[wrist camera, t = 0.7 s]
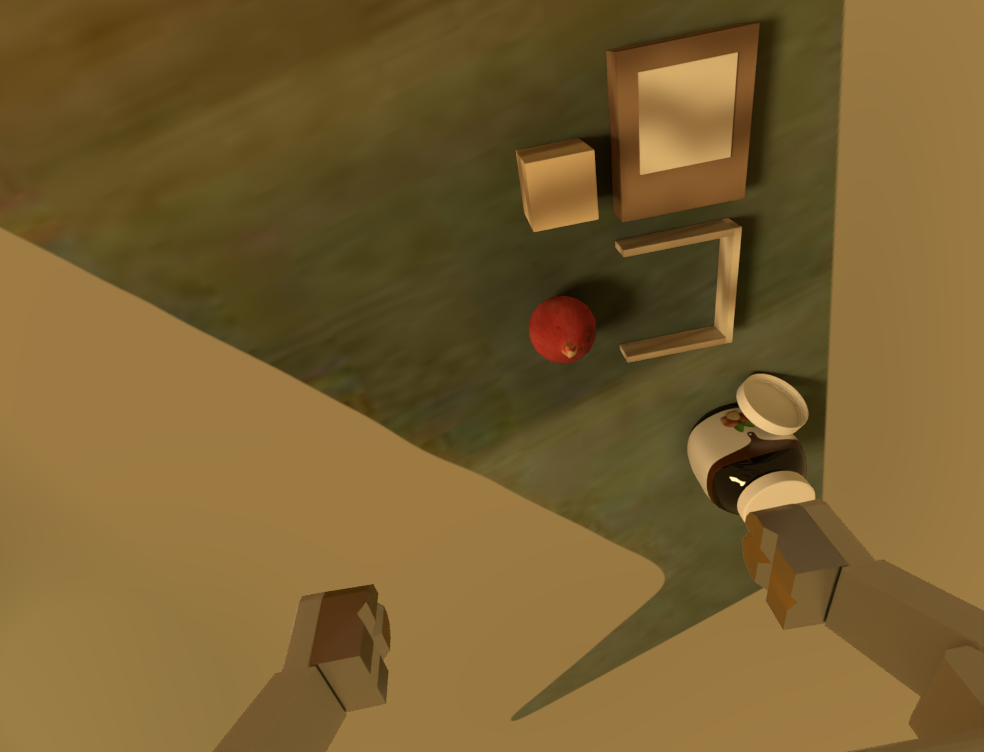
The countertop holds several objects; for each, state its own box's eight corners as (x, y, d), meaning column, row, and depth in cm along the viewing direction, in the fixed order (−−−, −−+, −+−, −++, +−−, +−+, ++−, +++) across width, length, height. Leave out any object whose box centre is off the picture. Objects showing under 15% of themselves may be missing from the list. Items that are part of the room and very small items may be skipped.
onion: (584, 278, 49) (609, 317, 42) (585, 333, 52) (608, 378, 45) (521, 286, 49) (535, 327, 42) (525, 341, 52) (539, 388, 45)
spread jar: (681, 466, 63) (727, 546, 53) (673, 390, 57) (723, 465, 47) (784, 438, 62) (850, 515, 52) (787, 358, 56) (862, 428, 46)
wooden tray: (606, 50, 39) (617, 52, 37) (742, 23, 39) (761, 22, 37) (619, 349, 53) (628, 363, 51) (720, 329, 53) (732, 343, 51)
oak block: (515, 150, 42) (524, 164, 38) (578, 137, 42) (594, 149, 38) (524, 213, 45) (533, 232, 41) (583, 201, 45) (598, 219, 41)
